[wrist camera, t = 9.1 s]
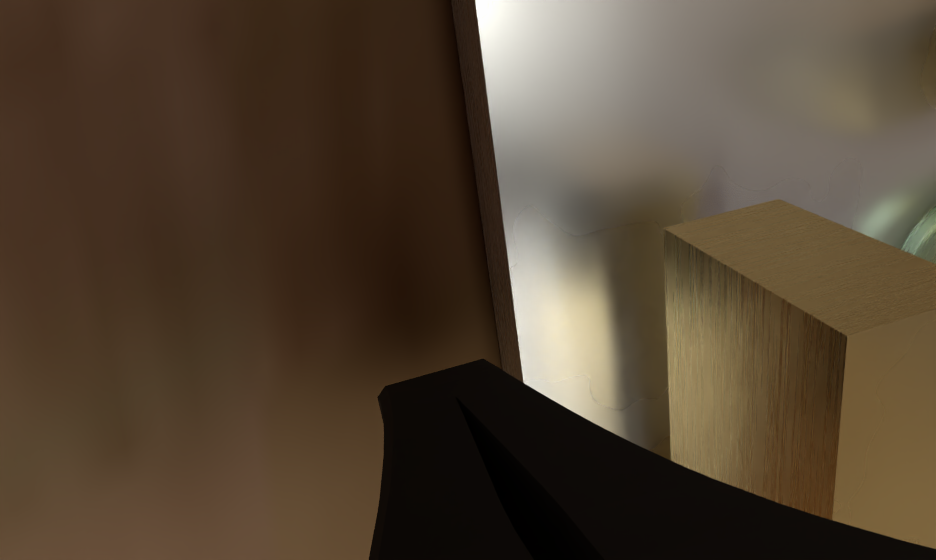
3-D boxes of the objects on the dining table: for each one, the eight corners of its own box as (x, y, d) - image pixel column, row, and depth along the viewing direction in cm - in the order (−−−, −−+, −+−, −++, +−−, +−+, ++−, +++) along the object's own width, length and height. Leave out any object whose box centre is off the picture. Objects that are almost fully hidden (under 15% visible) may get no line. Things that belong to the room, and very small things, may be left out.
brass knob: (759, 592, 14) (943, 804, 10) (618, 645, 13) (762, 891, 10) (773, 171, 10) (1050, 274, 7) (585, 217, 10) (787, 354, 6)
